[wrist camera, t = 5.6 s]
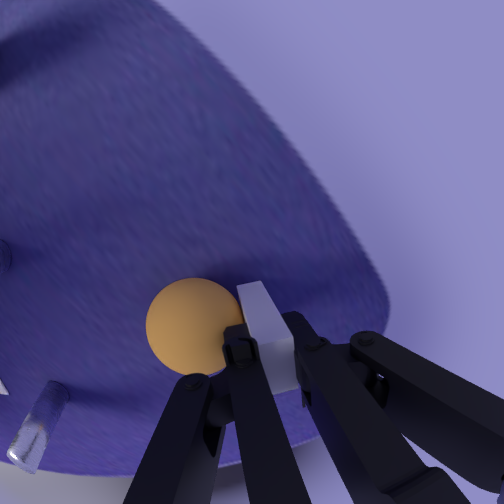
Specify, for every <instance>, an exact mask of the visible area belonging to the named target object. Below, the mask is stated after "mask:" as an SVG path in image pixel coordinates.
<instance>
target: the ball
mask: <svg viewBox="0 0 504 504" xmlns="http://www.w3.org/2000/svg"><path fill="white" fill-rule="evenodd" d="M243 323H245V322H244V317H243V313H242V310H241V308H240V306H239V304H238V302H237V301H236V299H235V298H234V297H233V295H232V294H231V293H230V292H229V291H228V290H226V289H225V288H224V287H222V286H221V285H219V284H217V283H215V282H213V281H210V280H207V279H202V278H186V279H181V280H178V281H176V282H173V283H171V284H169V285H168V286H166V287H165V288H164V289H162V290H161V291H160V292H159V293H158V294H157V296H156V297H155V298H154V300H153V301H152V303H151V305H150V307H149V310H148V313H147V318H146V333H147V338H148V341H149V344H150V346H151V348H152V350H153V352H154V353H155V355H156V356H157V357H158V359H159V360H160V361H161V362H162V363H163V364H165V365H166V366H167V367H169V368H170V369H172V370H174V371H176V372H178V373H181V374H184V375H188V374H191V373H203V374H205V375H209V374H212V373H215V372H217V371H219V370H221V369H223V368H224V367H226V363H225V359H224V355H223V352H222V346H223V344H224V336H223V332H224V330H225V329H226V327H228V326H233V325H238V324H243Z"/></svg>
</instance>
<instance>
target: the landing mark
mask: <svg viewBox="0 0 504 504" xmlns="http://www.w3.org/2000/svg"><path fill="white" fill-rule="evenodd" d="M0 394H5V395H9V393H8V391H7V389H6V388H5V386H4V384H3V383H2V381H1V379H0Z"/></svg>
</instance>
